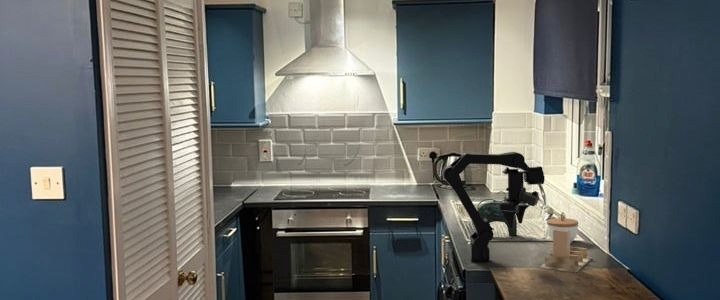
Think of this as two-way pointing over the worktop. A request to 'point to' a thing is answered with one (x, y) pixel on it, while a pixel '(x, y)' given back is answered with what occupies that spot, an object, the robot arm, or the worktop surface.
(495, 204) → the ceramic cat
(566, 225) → the lidded bowl
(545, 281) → the worktop surface
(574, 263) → the drying rack
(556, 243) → the tan rectangular block
